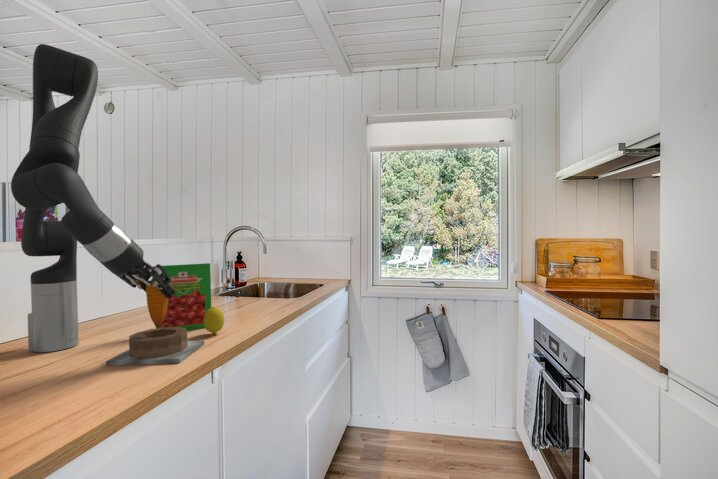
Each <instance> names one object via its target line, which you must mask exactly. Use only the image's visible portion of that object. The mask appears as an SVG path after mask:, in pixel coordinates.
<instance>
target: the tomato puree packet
mask: <svg viewBox="0 0 718 479" xmlns="http://www.w3.org/2000/svg"><path fill="white" fill-rule="evenodd" d="M155 266H156V265H154V266H153V267H155ZM161 266H162V267H163V269H164V270H165V271H166V273H167V274H168V276H169V277H170V278H171V282H170V283H169V285H170V286H171V287H172V288H173V289H174V290H175V291H176V293H175V295H174V296H173V298H172V299H169V300H168V308H167V313H166V316H165V319H164V321H163V323H162V325H161V327H160V328H164V327H180V328H186V330H187V331H190V330H199V329H206V328H205V327H204V316H205V313H206V312H207V311H208V310H209V309H211V308H212V283H211V282H212V280H211V279H212V278H211V263H210V262H206V263H191V264H190V263H189V264H171V265H170V264H169V265H168V264H167V265H161ZM164 279H165V278H164ZM155 329H157V327H156V326H155Z"/></svg>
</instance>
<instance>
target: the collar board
mask: <svg viewBox="0 0 718 479" xmlns="http://www.w3.org/2000/svg"><path fill="white" fill-rule="evenodd" d="M128 342H129V345H128V346H129V348H128V349H127V350H125V351H123V352H122V353H121V352H120V353H119V354H117V355H116V356H114V357H113V356H112V358H110V359H108V360H106V361H105V366H106V367H109V366H110V367H111V366H112V367H113V366H114V367H115V366H134V365H135V366H136V365H137V366H138V365H140V366H141V365H158V364H159V365H163V364H166V365H167V364H180V363H182V362H183V361H185V360H186V359H187V358H188V357H190V356H191V355H192V354H194V353H195V352H197V351H198V350H200V348H203V346H204V345H205V340H188V330H186V328H180V327H164V328H157V329H156V328H151V329H146V330H142V331H139V332H135V333H133V334H131V335H129V337H128Z"/></svg>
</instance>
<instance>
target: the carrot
mask: <svg viewBox="0 0 718 479" xmlns="http://www.w3.org/2000/svg"><path fill="white" fill-rule="evenodd" d="M152 278H153V277H151V279H152ZM155 282H156V281H155ZM156 283H157V282H156ZM157 284H158V283H157ZM158 285H159V284H158ZM145 293H146V294H145V295H146V305H147V309H148V313H149V317H150V318H151V322H152V323H153V324H154V327H155V328H156V327H157V328H160V327H161V325H162V323H163V321H164V319H165V316H166V313H167V308H168V300H169V299H168V298H167V297H166V296H165V295H164V294H163V293H162V292H160V291H159V290H158V289H157V288H155V287H154V286H153V285H151V286H149V285H146V292H145Z"/></svg>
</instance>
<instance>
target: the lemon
mask: <svg viewBox="0 0 718 479" xmlns="http://www.w3.org/2000/svg"><path fill="white" fill-rule="evenodd" d="M224 324H225V315H224V313H223V311H222V309H220V308H218V307H216V306H211V309H209V310H208V311H207V312H206V313H205V316H204V327H205V328H204V329H205V330H206V331H207V332H209V333H211V334H213V335H216V334H217V333H218V332H219V331H221V330H222V329H223V326H224Z"/></svg>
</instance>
